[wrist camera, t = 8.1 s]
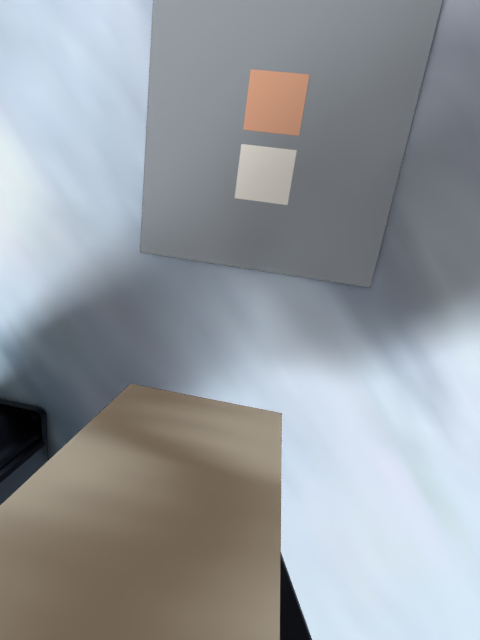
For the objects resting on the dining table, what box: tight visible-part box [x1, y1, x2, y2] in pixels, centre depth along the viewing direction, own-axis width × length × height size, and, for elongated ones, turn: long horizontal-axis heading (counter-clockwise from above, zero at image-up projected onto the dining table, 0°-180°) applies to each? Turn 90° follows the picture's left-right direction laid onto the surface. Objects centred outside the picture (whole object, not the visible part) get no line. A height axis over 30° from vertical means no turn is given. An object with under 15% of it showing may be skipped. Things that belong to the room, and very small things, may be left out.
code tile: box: [140, 0, 443, 288], centre depth 14 cm, size 12×12×1 cm
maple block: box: [0, 384, 282, 640], centre depth 7 cm, size 4×6×6 cm
